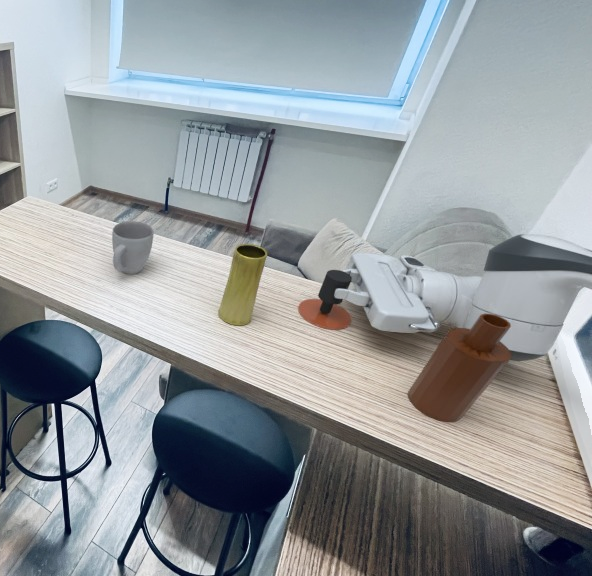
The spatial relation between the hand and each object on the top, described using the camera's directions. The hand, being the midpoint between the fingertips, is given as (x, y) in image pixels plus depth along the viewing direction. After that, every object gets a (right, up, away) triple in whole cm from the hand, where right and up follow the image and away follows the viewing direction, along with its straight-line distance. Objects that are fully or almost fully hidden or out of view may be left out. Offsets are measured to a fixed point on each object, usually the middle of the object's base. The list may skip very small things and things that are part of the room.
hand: (331, 283), depth 74 cm
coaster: (+1, -6, +4) cm, 7 cm away
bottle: (+7, -18, -14) cm, 24 cm away
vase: (-16, -6, +4) cm, 18 cm away
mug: (-35, +3, +18) cm, 39 cm away
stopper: (+1, -3, +2) cm, 3 cm away
